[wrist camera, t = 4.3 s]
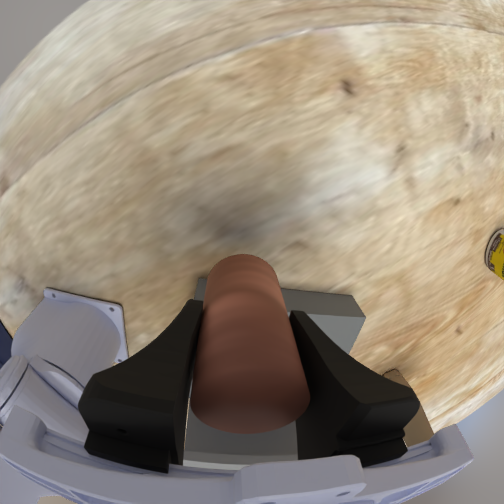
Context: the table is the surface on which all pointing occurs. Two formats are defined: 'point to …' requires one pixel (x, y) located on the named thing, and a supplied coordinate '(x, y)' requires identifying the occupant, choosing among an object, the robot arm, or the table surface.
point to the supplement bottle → (496, 254)
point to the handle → (419, 424)
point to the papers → (4, 346)
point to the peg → (246, 352)
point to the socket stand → (285, 438)
